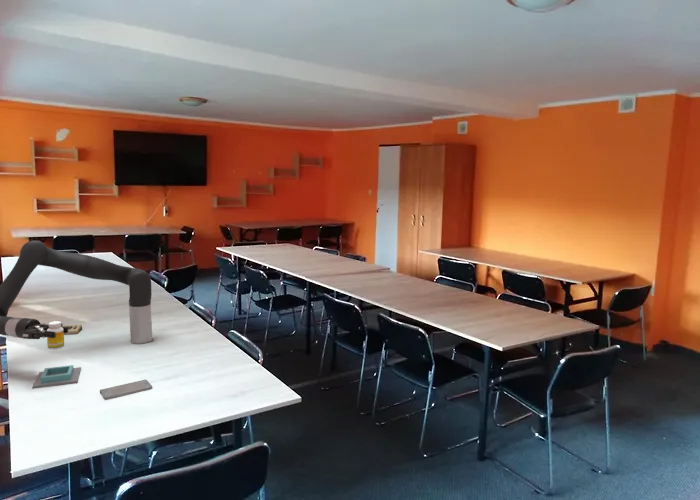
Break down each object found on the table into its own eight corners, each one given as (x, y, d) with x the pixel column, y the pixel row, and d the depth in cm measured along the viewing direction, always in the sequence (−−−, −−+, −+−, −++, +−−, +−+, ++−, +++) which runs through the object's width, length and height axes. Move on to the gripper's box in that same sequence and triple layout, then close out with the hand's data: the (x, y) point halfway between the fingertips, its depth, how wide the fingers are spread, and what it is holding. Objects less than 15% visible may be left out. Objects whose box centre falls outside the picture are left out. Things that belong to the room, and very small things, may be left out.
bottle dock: (81, 369, 193) (80, 362, 192) (77, 382, 180) (76, 375, 180) (39, 373, 187) (39, 366, 187) (32, 388, 175) (31, 381, 174)
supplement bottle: (45, 347, 182) (44, 322, 181) (61, 344, 186) (60, 319, 185) (50, 351, 179) (48, 325, 177) (66, 347, 182) (65, 323, 181)
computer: (40, 337, 230) (40, 330, 229) (46, 331, 238) (46, 325, 237) (77, 335, 234) (77, 328, 233) (82, 330, 242) (82, 323, 241)
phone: (99, 393, 173) (99, 389, 173) (146, 382, 183) (146, 379, 183) (104, 401, 167) (104, 398, 167) (153, 390, 177) (153, 386, 177)
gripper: (5, 323, 177) (44, 328, 173) (38, 313, 191) (75, 317, 187) (6, 343, 178) (46, 348, 174) (39, 331, 192) (76, 336, 188)
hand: (61, 332), depth 181 cm, fingers closed on supplement bottle, 5 cm apart
